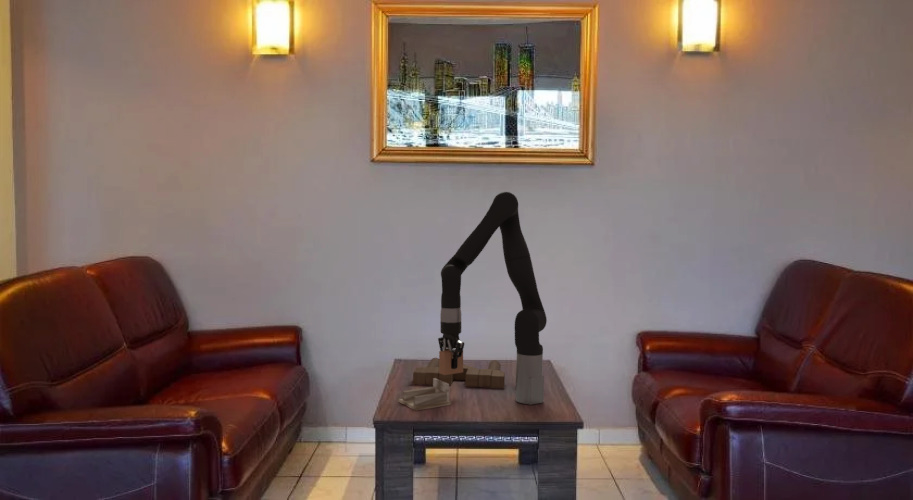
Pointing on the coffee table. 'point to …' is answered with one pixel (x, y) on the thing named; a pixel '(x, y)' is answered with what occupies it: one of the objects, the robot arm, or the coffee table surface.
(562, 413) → the coffee table surface
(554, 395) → the coffee table surface
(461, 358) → the rust book
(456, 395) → the coffee table surface
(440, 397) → the birch slot rack
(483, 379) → the brown segmented blocky figure
